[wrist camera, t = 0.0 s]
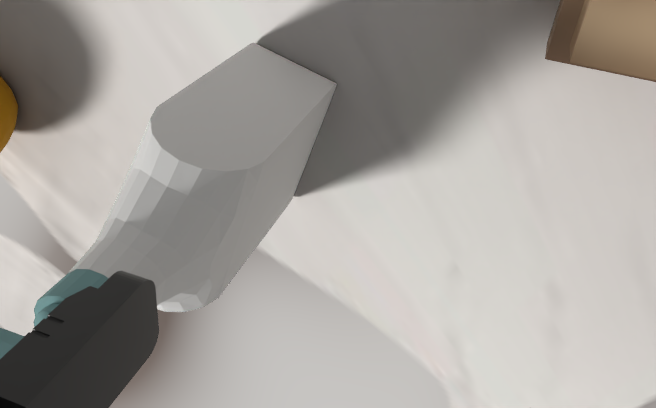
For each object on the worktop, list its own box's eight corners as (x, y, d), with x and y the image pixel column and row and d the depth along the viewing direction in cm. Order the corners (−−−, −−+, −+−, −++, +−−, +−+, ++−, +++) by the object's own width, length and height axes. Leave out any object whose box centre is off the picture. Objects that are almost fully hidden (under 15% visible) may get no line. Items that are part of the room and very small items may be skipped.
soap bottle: (312, 209, 48) (90, 538, 26) (221, 162, 48) (-73, 444, 26) (362, 92, 41) (121, 397, 19) (256, 40, 42) (-96, 277, 20)
